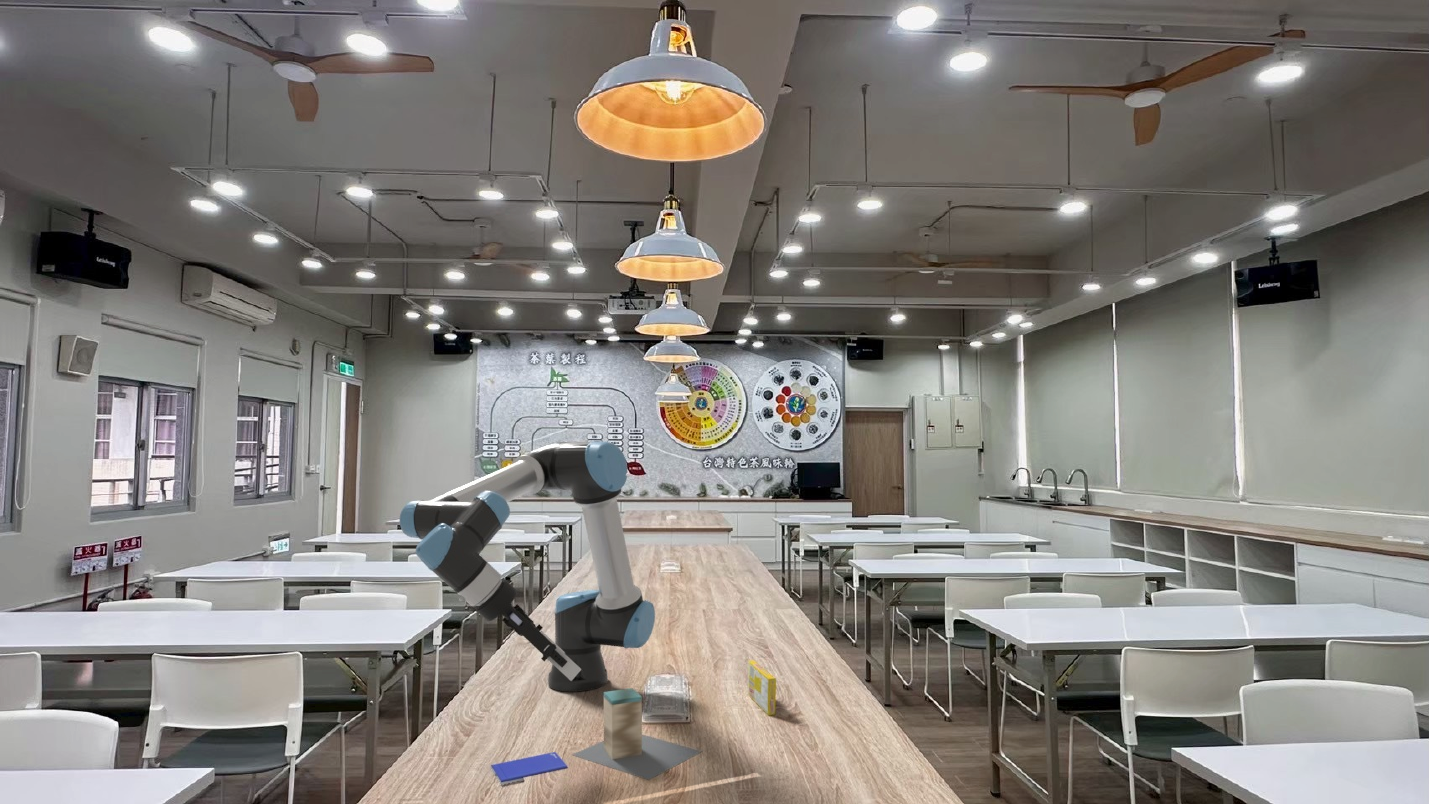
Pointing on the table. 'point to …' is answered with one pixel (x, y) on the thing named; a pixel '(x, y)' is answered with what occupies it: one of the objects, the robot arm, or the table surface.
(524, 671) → the table surface
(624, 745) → the maple block
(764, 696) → the candy box
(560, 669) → the robot arm
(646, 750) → the slate mat
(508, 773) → the hard drive
